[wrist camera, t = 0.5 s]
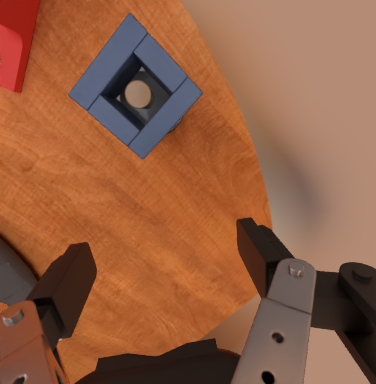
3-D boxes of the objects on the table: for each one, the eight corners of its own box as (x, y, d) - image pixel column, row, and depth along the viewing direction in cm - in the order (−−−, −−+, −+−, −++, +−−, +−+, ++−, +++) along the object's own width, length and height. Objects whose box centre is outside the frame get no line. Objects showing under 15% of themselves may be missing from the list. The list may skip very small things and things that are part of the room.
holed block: (139, 38, 16) (129, 11, 12) (194, 97, 17) (203, 92, 13) (92, 98, 17) (67, 94, 13) (148, 149, 18) (143, 160, 14)
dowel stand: (147, 46, 23) (128, -18, 11) (198, 101, 25) (224, 93, 14) (102, 102, 24) (45, 95, 13) (154, 150, 26) (145, 178, 15)
